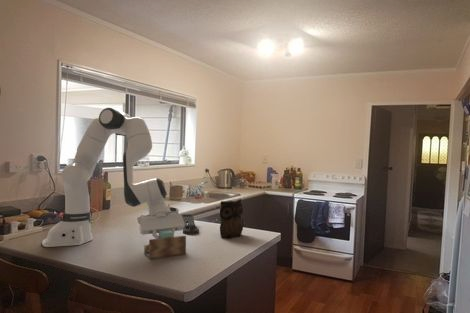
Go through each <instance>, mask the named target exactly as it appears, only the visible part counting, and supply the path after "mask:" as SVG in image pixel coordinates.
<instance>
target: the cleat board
mask: <svg viewBox="0 0 470 313" xmlns="http://www.w3.org/2000/svg"><path fill="white" fill-rule="evenodd" d="M143 247H144V248H143V254H144V255H145V256H146V257H147V258H148V259H149V260H156V259H162V258H164V259H165V258H169V257H176V256H181V255H182V256H183V255H186V254H187V235H178V236H174V237H168V238H160V239H156V238H152V239H149V241H148V244H144V246H143Z"/></svg>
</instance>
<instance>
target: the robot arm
mask: <svg viewBox="0 0 470 313" xmlns="http://www.w3.org/2000/svg"><path fill="white" fill-rule="evenodd" d="M111 135H116V136H121V137H122V136H123V137H126V140H127V149H126V151H125V152H123V156H122V163H123V164H122V167H123V168H122V169H123V171H122V172H123V200H124V202H125V204H126V205H127V206H130V207H133V208H135V207H138V206H140V205H143V204H145V203H146V205H147V208H148V209H147V210H148V214H141V215H140V216H138V217H137V219H136V220H137V223H138V224H139V226H138V228H139V229H138V230H139V234H141V235H143V236H144V235H150V234H151V236H152V237H154V239H160V236H159V231H162V230H171V231H172V232H173V237H175V233H176V232H178V231H183V228H184V225H185V224H184V221H183V218H182V216H181V213H179V208H178V207H173V206H170V207H169V206H168V204H167V203H166V197H167V195H168V194H167V190H166V187H165V184H164V181H163V180H162V179H160V178H157V177H156V178H150V179H148V180H143V181H140V182H137V183H134V171H133V170H134V166H135V165H136V164H137V163H138V162H139V161H140V160H142V159H144V158H145V157H147V156H148V155H149V154H150V153H151V151H152V150H153V149H152V148H153V140H152V136H151V133H150V130H149V128H148V126H147V123H146V121H145V120H144V119H143V118H142V117H139V116H132V115H129V114H128V113H126V112H124V111H120V110H119V109H117V108H114V107H105V108H103V109H102V110H101V111H100V113H99V116H97V117H95V118H94V119H93V120H92V121H91V122H90V123H89V126H88V127H87V128H86V130H85V132H84V134H83V136H82V138H81V139H80V142H79V144H78V146H77V148H76V152H75V156H74V159H73V161H72V162H70V163H68V164H67V165H66V166H64V168H63V169H62V171H61V174H60V176H61V181H62V186H63V191H64V198H65V201H64V202H65V203H64V204H65V206H64V207H65V210H64V211H65V212H60V213H59V217H60V221H59V222H58V223H56V224H55V225H54V226H52V227H51V228H50V229H49V230H48V233H47V237H46V238H45V239H43V240H42V244H41V245H42V247H45V248H52V247H53V248H55V247H66V246H67V247H68V246H70V247H71V246H81V245H83V244H85V243H88V242H91V241H93V239H94V237H93V234H92V229H91V221H92V220H91V219H92V215H91V214H92V213H91V211H90V207H91V206H90V205H91V204H90V203H91V201H90V199H91V198H90V193H89V186H88V182H89V180H90V179H91V178H92V177H93V173H94V171H95V169H96V166H97V164H98V161H99V158H100V156H101V154H102V152H103V150H104V148H105V146H106V144H107V143H108V140H109V138H110V137H111Z"/></svg>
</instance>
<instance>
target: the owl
mask: <svg viewBox="0 0 470 313" xmlns="http://www.w3.org/2000/svg"><path fill="white" fill-rule="evenodd" d="M219 205H220V208H219V217H220V218H219V219H220V223H219V224H220V225H219V233H220V238H221V239H222V240H225V239H226V240H230V239H235V238H236V239H237V238H240V237H241V236H242V232H243V229H244V226H245V224H244V219H243V218H242V216H243V213H244V206H243V204H242V198H238V199H231V200H230V199H229V200H225V201H224V200H221V201H220V204H219Z"/></svg>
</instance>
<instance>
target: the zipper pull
mask: <svg viewBox="0 0 470 313" xmlns="http://www.w3.org/2000/svg"><path fill="white" fill-rule="evenodd" d="M180 215H181V216H182V218H183V221H184V224H185V225H184V228H183V230H182V234H183V235H184V236H187V235H190V236H191V235H198V234H199V233H200V229H199V228H198V227H197V225H196V223H195V218H194V214H193V213H183V214H182V213H180Z"/></svg>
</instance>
